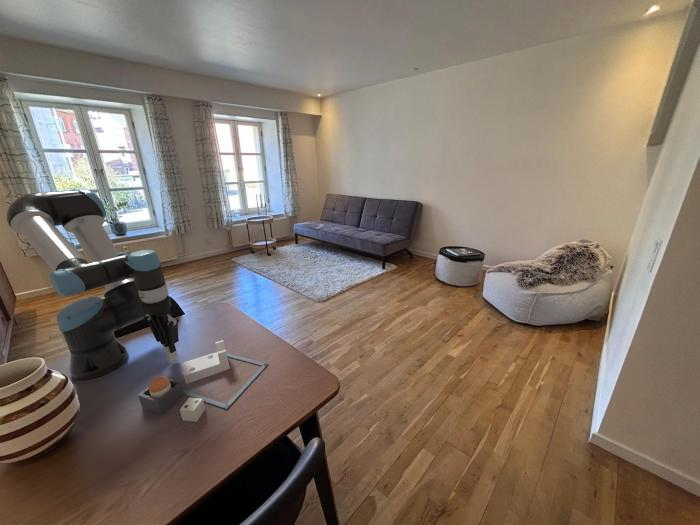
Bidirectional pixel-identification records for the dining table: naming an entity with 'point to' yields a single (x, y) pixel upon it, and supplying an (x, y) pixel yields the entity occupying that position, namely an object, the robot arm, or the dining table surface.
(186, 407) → the die
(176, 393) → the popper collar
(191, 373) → the bracket
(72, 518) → the dining table surface
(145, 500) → the dining table surface
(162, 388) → the orange and white capsule
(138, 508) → the dining table surface
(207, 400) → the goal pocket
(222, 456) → the dining table surface
